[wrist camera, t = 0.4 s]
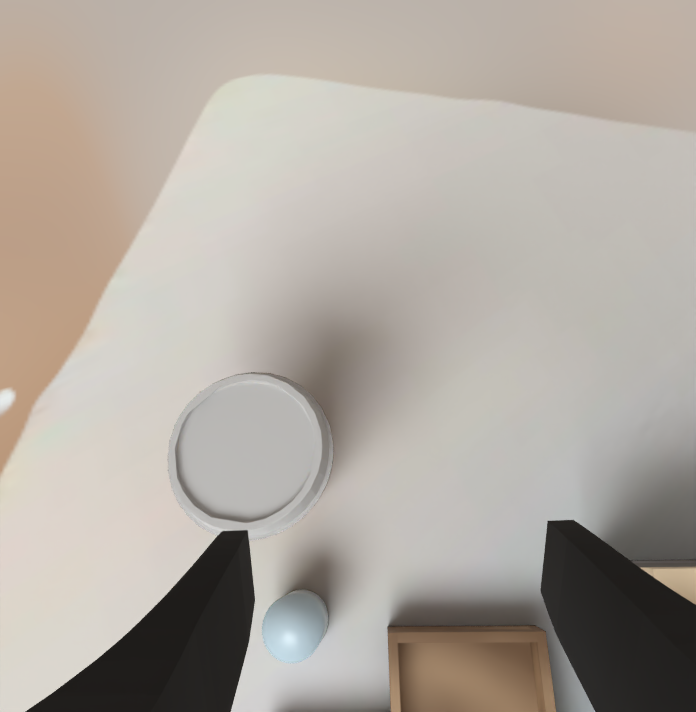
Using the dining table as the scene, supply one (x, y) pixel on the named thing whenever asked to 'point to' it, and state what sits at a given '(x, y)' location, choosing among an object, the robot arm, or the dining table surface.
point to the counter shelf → (673, 575)
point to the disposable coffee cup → (250, 455)
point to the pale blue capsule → (295, 626)
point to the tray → (469, 669)
